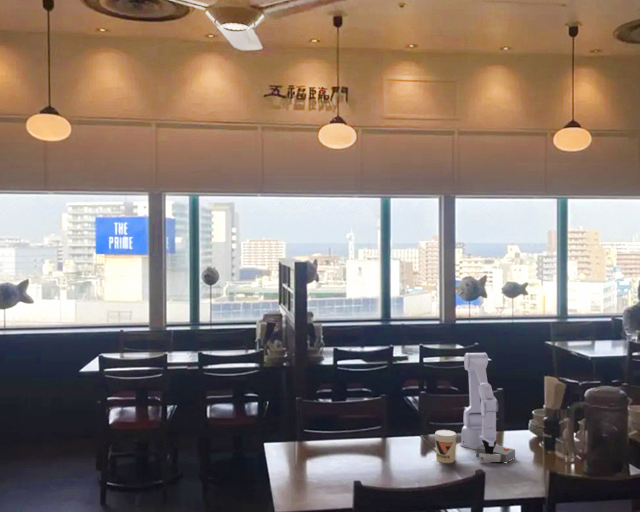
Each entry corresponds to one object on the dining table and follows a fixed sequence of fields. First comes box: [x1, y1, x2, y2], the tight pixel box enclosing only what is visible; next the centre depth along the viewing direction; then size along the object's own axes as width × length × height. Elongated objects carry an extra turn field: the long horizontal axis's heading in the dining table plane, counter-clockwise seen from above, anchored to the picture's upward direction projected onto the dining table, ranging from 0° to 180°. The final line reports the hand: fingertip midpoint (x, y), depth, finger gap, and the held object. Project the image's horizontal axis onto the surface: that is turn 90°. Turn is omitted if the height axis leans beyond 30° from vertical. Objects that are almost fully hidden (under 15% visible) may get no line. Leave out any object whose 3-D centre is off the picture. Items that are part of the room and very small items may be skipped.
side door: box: [478, 453, 502, 463], centre depth 273 cm, size 10×1×4 cm, turn 83°
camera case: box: [475, 444, 516, 463], centre depth 280 cm, size 14×9×5 cm, turn 48°
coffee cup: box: [434, 429, 457, 464], centre depth 277 cm, size 9×9×12 cm
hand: (488, 457), depth 275 cm, fingers closed
